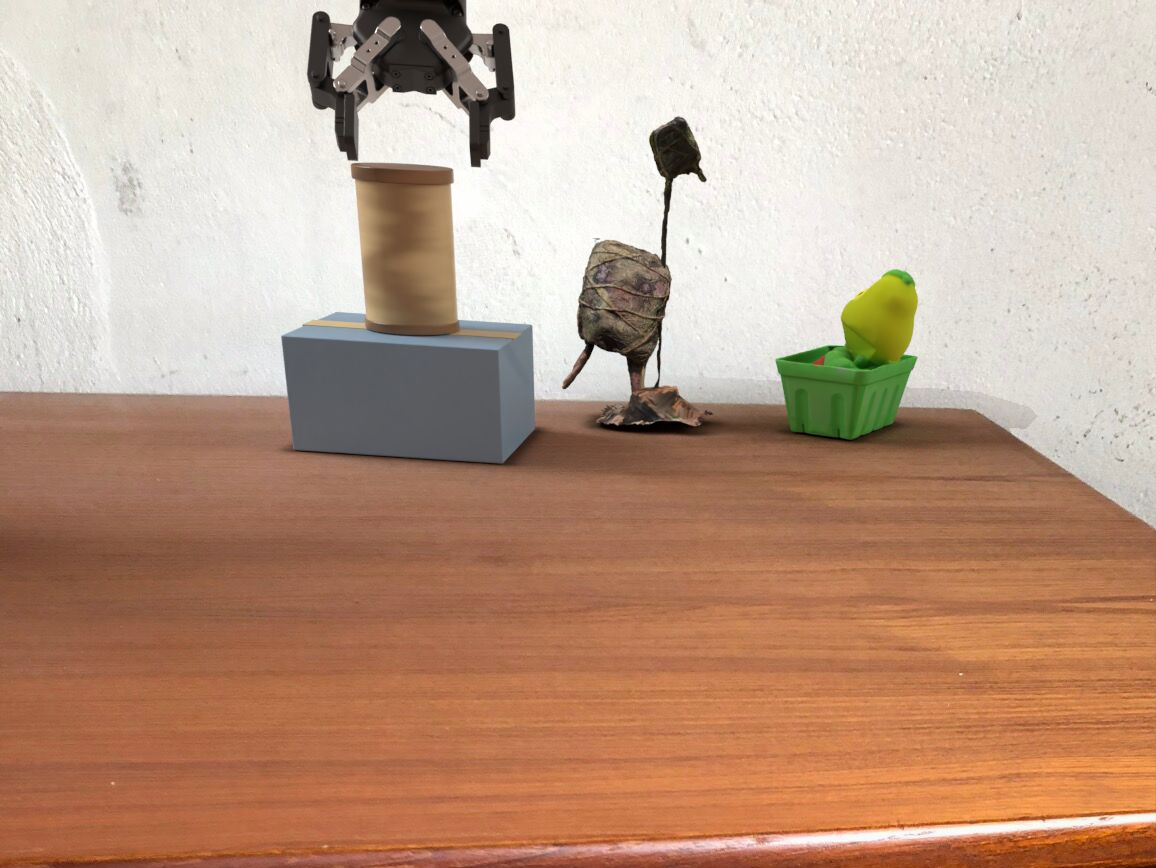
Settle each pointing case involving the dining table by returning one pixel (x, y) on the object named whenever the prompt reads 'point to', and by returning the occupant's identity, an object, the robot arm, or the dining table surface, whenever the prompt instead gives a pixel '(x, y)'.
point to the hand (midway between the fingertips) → (413, 155)
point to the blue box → (410, 390)
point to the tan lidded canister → (407, 248)
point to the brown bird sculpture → (637, 298)
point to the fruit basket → (856, 365)
